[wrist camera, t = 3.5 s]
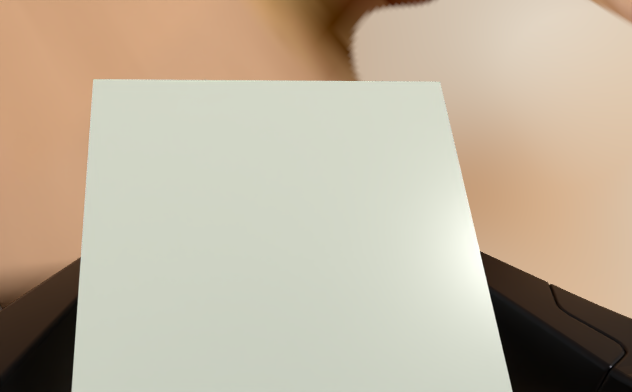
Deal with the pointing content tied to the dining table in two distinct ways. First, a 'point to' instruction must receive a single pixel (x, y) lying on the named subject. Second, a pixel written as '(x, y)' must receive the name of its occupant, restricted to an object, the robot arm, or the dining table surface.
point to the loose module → (279, 242)
